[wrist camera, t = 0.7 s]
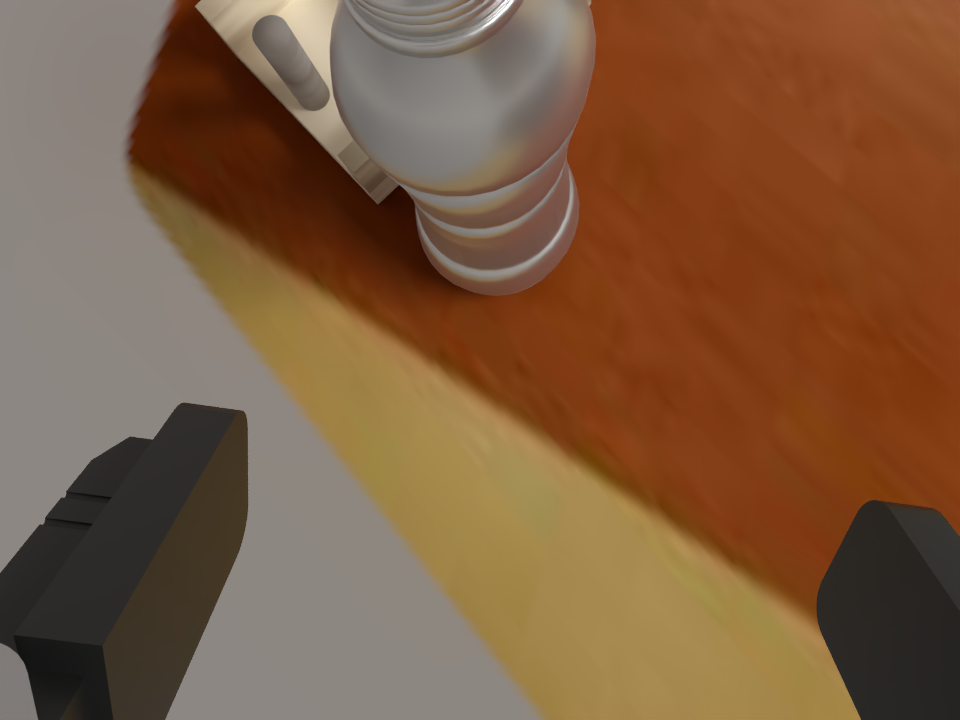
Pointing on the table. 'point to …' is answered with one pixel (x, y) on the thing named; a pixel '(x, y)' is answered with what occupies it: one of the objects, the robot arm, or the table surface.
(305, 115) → the caddy
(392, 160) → the plastic bottle
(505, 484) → the table surface
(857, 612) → the robot arm
